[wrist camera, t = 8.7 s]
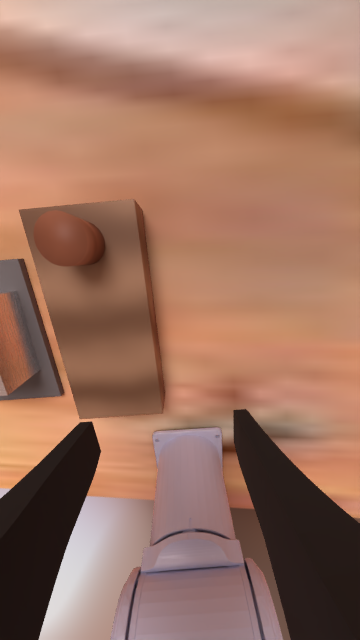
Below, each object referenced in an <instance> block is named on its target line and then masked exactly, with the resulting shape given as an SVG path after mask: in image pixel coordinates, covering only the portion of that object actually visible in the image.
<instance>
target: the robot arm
mask: <svg viewBox="0 0 360 640" xmlns="http://www.w3.org/2000/svg"><path fill="white" fill-rule="evenodd" d="M152 438H153V444H154V450H155V456H156V463H157V469H158V472H157V482H156V491H155V501H154V511H153V520H152V530H151V540H150V547H145V548H144V550H143V557H142V565H141V567H136V568H134V569H133V570H132V572H131V574H130V576H129V578H128V580H127V581H126V583H125V584H124V586H123V589H122V591H121V594H120V597H119V601H118V605H117V609H116V613H115V618H114V622H113V628H112V634H111V640H283V638H282V634H281V630H280V626H279V623H278V619H277V615H276V611H275V608H274V604H273V601H272V598H271V594H270V591H269V588H268V585H267V582H266V579H265V577H264V574H263V573H262V571H261V570H260V568H258V566H257V565H256V564H255V562H254V561H253V560H252V559H251V558H245V559H244V560H243V555H242V551H241V546H240V541H239V540H236V538H235V533H234V528H233V523H232V518H231V513H230V508H229V503H228V498H227V493H226V488H225V483H224V478H223V465H222V432H221V429H220V428H219V427H214V428H199V429H184V430H169V431H156V432H154V433H153V437H152ZM234 444H235V448H236V452H237V456H238V460H239V464H240V467H241V470H242V473H243V476H244V479H245V482H246V485H247V488H248V491H249V494H250V497H251V500H252V502H253V505H254V508H255V511H256V514H257V517H258V520H259V523H260V526H261V529H262V532H263V536H264V539H265V542H266V546H267V550H268V554H269V557H270V561H271V564H272V569H273V572H274V576H275V580H276V584H277V587H278V591H279V595H280V599H281V603H282V607H283V610H284V614H285V618H286V622H287V626H288V630H289V634H290V638H291V640H360V523H358V522H357V521H356V520H355V519H354V518H352V517H351V516H350V515H349V514H347V513H346V512H345V511H344V510H343V509H342V508H340V507H339V506H338V505H337V504H336V503H335V502H334V501H332V500H331V499H330V498H329V497H328V496H327V495H326V494H325V493H323V492H322V491H321V490H320V489H319V488H318V487H317V486H316V485H315V484H314V483H313V482H312V481H311V480H309V479H308V478H307V477H306V476H305V475H304V474H303V473H302V472H301V471H300V470H299V469H298V468H297V467H296V466H295V465H294V464H293V463H292V462H291V461H290V460H289V458H288V457H287V456H286V455H285V454H284V453H283V452H282V451H281V450H280V449H279V448H278V447H277V445H276V444H275V443H274V442H273V441H272V440H271V439H270V438H269V436H268V435H267V434H266V433H265V432H264V431H263V429H262V428H261V427H260V426H259V425H258V423H257V422H256V421H255V420H254V418H253V417H252V416H251V414H250V413H249V412H248V411H247V410H246V409H243V410H234ZM100 453H101V450H100V446H99V443H98V440H97V436H96V433H95V430H94V427H93V423H92V422H80V423H79V424H78V425H77V426H76V427H75V428H74V429H73V430H72V431H71V432H70V433H69V434H68V435H67V436H66V437H65V438H64V439H63V440H62V441H61V442H60V443H59V444H58V445H57V446H56V447H55V448H54V449H53V450H52V451H51V452H50V453H49V454H48V455H47V456H46V457H45V458H44V459H43V460H42V461H41V462H40V463H39V464H38V465H37V466H36V467H35V468H34V469H32V470H31V471H30V472H29V473H28V474H27V475H26V476H25V477H24V478H23V479H22V480H21V481H20V482H18V483H17V484H16V485H15V486H14V487H13V488H12V489H11V490H10V491H9V492H8V493H6V494H5V495H4V496H3V497H2V498H1V499H0V640H38V639H39V636H40V632H41V628H42V625H43V621H44V618H45V615H46V611H47V608H48V605H49V601H50V598H51V595H52V591H53V588H54V585H55V581H56V578H57V575H58V572H59V569H60V566H61V562H62V559H63V556H64V553H65V550H66V547H67V544H68V542H69V539H70V536H71V534H72V531H73V528H74V526H75V523H76V521H77V518H78V516H79V513H80V511H81V508H82V505H83V503H84V501H85V498H86V496H87V493H88V490H89V488H90V485H91V483H92V480H93V477H94V475H95V471H96V468H97V464H98V460H99V457H100Z"/></svg>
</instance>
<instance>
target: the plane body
mask: <svg viewBox="0 0 360 640" xmlns="http://www.w3.org/2000/svg"><path fill="white" fill-rule="evenodd" d="M19 212H20V216H21V219H22V222H23V226H24V229H25V233H26V236H27V240H28V243H29V246H30V250H31V253H32V257H33V260H34V264H35V267H36V270H37V274H38V277H39V281H40V284H41V288H42V291H43V294H44V298H45V301H46V305H47V308H48V312H49V315H50V318H51V322H52V325H53V329H54V332H55V335H56V339H57V342H58V346H59V349H60V353H61V356H62V359H63V363H64V366H65V370H66V373H67V377H68V380H69V383H70V387H71V390H72V394H73V397H74V401H75V404H76V407H77V411H78V414H79V418H80V419H90V418H104V417H119V416H133V415H147V414H162V413H163V406H164V397H165V389H164V381H163V373H162V365H161V357H160V349H159V341H158V333H157V325H156V317H155V309H154V301H153V293H152V285H151V277H150V269H149V261H148V253H147V245H146V238H145V230H144V222H143V214H142V209H141V208H140V206H139V205H138V204H137V202H136V201H135V200H134V199H128V200H117V201H107V202H96V203H85V204H75V205H64V206H54V207H43V208H32V209H22V210H19Z"/></svg>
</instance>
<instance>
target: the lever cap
mask: <svg viewBox="0 0 360 640" xmlns="http://www.w3.org/2000/svg"><path fill="white" fill-rule="evenodd" d="M39 370H40V366H39V363H38V359H37V356H36V352H35V349H34V346H33V342H32V339H31V336H30V332H29V329H28V325H27V322H26V319H25V315H24V312H23V309H22V305H21V302H20V299H19V295H18V292H17V291H4V292H0V396H7V395H9V394H10V393H11V392H13V391H14V390H15V389H16V388H18V387H19V386H20V385H21V384H23V383H24V382H25V381H26V380H28V379H29V378H30V377H32V376H33V375H34V374H35V373H37V372H38V371H39Z"/></svg>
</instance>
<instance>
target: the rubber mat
mask: <svg viewBox="0 0 360 640" xmlns="http://www.w3.org/2000/svg"><path fill="white" fill-rule="evenodd" d="M4 291H17V292H18V295H19V299H20V302H21V305H22V309H23V312H24V315H25V319H26V322H27V325H28V329H29V332H30V336H31V339H32V342H33V346H34V349H35V352H36V356H37V359H38V363H39V366H40V370H39V371H38V372H37V373H35V374H34V375H33V376H32V377H30V378H29V379H28V380H26V381H25V382H24V383H23V384H21V385H20V386H19V387H18V388H16V389H15V390H14V391H13V392H11V393H10V394H9V395H7V396H0V400H13V399H27V398H41V397H54V396H61V395H62V394H63V393H64V391H63V387H62V384H61V381H60V377H59V374H58V371H57V368H56V364H55V361H54V358H53V355H52V351H51V348H50V345H49V342H48V338H47V335H46V332H45V329H44V325H43V322H42V319H41V315H40V312H39V309H38V306H37V302H36V299H35V296H34V293H33V289H32V286H31V283H30V280H29V276H28V273H27V270H26V267H25V263H24V260H23V259H12V260H1V261H0V292H4Z"/></svg>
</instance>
